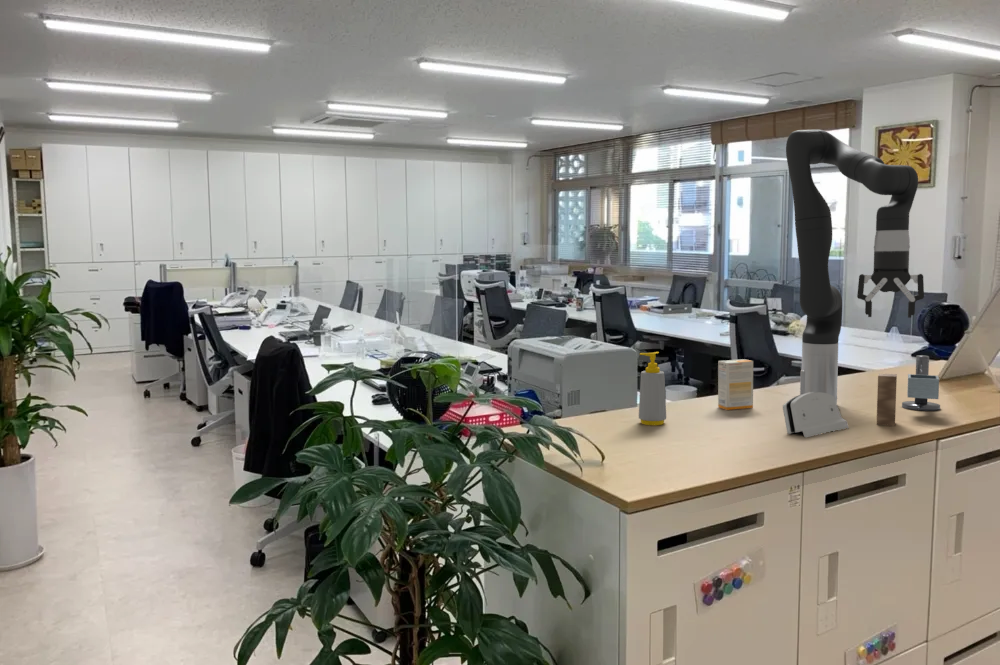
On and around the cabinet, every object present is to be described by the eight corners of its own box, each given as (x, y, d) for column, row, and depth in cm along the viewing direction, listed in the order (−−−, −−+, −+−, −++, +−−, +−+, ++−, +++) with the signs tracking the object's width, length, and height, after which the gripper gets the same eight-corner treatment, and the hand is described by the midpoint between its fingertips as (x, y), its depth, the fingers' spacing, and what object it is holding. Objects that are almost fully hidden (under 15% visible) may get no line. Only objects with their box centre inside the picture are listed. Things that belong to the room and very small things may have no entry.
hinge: (805, 437, 174) (793, 394, 176) (788, 440, 178) (777, 398, 180) (849, 427, 183) (838, 387, 184) (832, 431, 186) (821, 391, 188)
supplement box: (743, 405, 212) (744, 358, 211) (753, 408, 208) (754, 360, 207) (717, 407, 210) (717, 360, 209) (726, 410, 206) (727, 362, 204)
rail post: (876, 424, 186) (878, 375, 185) (876, 421, 189) (878, 373, 188) (895, 425, 184) (896, 376, 183) (895, 422, 187) (896, 374, 186)
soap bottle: (633, 421, 194) (633, 351, 192) (657, 419, 196) (658, 350, 194) (646, 427, 187) (646, 354, 185) (671, 424, 189) (672, 353, 187)
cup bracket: (901, 416, 194) (903, 362, 193) (901, 403, 211) (903, 353, 210) (942, 419, 190) (944, 363, 189) (939, 406, 207) (941, 354, 206)
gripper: (925, 249, 183) (922, 316, 184) (859, 250, 189) (857, 315, 191) (926, 249, 176) (923, 319, 178) (858, 250, 183) (856, 317, 184)
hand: (889, 317), depth 184 cm, fingers open, 8 cm apart
